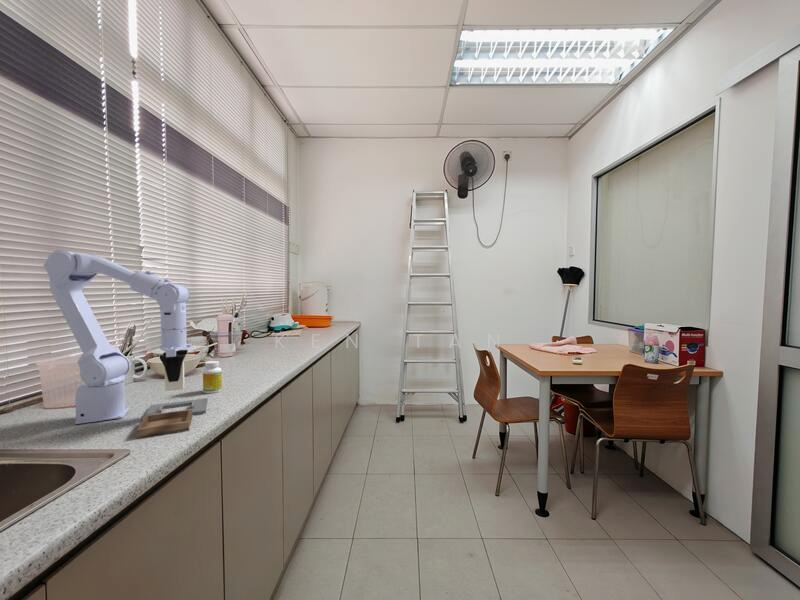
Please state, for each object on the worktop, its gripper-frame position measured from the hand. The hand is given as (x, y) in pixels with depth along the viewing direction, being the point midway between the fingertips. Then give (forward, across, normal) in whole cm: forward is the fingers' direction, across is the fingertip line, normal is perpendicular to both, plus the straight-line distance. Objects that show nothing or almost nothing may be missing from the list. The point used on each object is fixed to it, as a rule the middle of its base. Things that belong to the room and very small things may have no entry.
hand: (174, 379), depth 92 cm
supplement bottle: (+10, +19, -8) cm, 23 cm away
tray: (+9, -9, +1) cm, 13 cm away
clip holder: (+9, +3, 0) cm, 10 cm away
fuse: (+2, 0, 0) cm, 2 cm away
